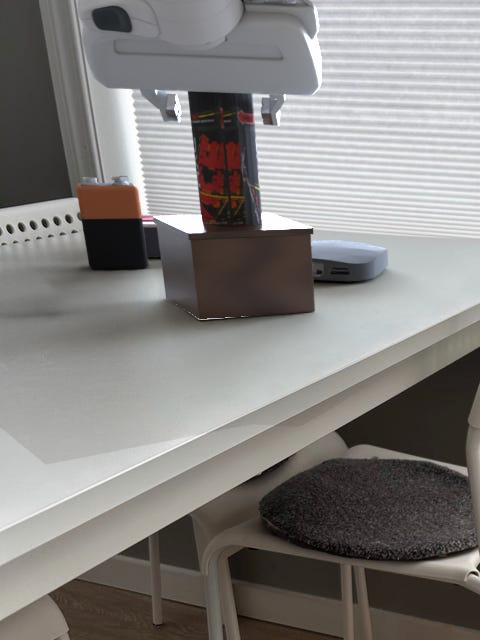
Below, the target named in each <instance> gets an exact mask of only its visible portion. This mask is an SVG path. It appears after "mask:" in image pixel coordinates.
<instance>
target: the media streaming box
mask: <svg viewBox="0 0 480 640" xmlns="http://www.w3.org/2000/svg"><path fill="white" fill-rule="evenodd" d="M311 248H312V266H313V281H323V282H325V281H326V282H348V283H349V282H361V281H367V280H371V279H375V278H376V277H378V276H379V275H381V274H382V273H383V272H384V271H385V270H386V269H387V268H388V266H389V258H388V257H389V255H388V253H389V252H388V248H385V247H381V246H375V245H372V244H368V243H362V242H357V241H349V240H338V239H336V240H335V239H321V240H319V239H318V240H311Z"/></svg>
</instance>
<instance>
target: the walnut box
mask: <svg viewBox="0 0 480 640" xmlns="http://www.w3.org/2000/svg"><path fill="white" fill-rule="evenodd" d="M153 221H154V223H155V224H157V232H158V240H159V247H160V255H161V257H160V261H161V269H162V277H163V284H164V292H165V298H166V300H168V301H169V300H170V301H169V302H171V303H172V302H173V303H172V304H174V303H175V304H177V305H178V306H180V307H181V308H183V309H185V310H186V311H188V312H190V313H191V314H193V315H194V316H196V317H197V318H199V319H207V318H225V317H241V316H255V317H264V316H263V315H267V316H276V315H277V316H278V315H290V314H300V313H311V312H316V306H315V305H316V303H315V288H314V287H315V285H314V280H313V266H312V248H311V241H312V235H314V227H312V226H309V225H306V224H303V223H300V222H298V221H294V220H291V219H288V218H285V217H282V216H279V215H277V214H274V213H270V212H262V223H261V224H257V225H249V226H218V225H209V224H204V223H202V219H201V215H190V216H175V215H171V216H160V217H153ZM175 304H174V305H175ZM177 305H176V306H177ZM178 306H177V307H178ZM180 307H179V308H180ZM181 308H180V309H181ZM183 309H182V310H183ZM186 311H185V312H186ZM261 315H262V316H261Z"/></svg>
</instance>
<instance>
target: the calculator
mask: <svg viewBox="0 0 480 640" xmlns="http://www.w3.org/2000/svg"><path fill="white" fill-rule="evenodd" d="M190 215H201V213H182V214H175V215H174V216H190ZM160 216H172V215H171V214H142V221H143V228H144V235H145V242H146V250H147V257H148V258H161V255H160V247H159V240H158V232H157V224H155V223H154V221H153V217H160Z"/></svg>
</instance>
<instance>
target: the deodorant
mask: <svg viewBox="0 0 480 640" xmlns="http://www.w3.org/2000/svg"><path fill="white" fill-rule="evenodd" d="M253 97H254V95H253V94H248V93H221V92H195V91H187V99H188V107H189V117H190V125H191V126H190V127H191V135H192V144H193V145H192V146H193V154H194V162H195V163H194V164H195V173H196V180H197V181H196V183H197V190H198V200H199V201H198V202H199V208H200V214H201V219H202V223H204V224H209V225H218V226H249V225H257V224H261V223H262V213H263V212H262V210H263V209H262V199H261V198H262V197H261V186H260V174H259V159H258V148H257V136H256V135H257V134H256V121H255V110H254V109H255V107H254V98H253Z"/></svg>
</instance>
